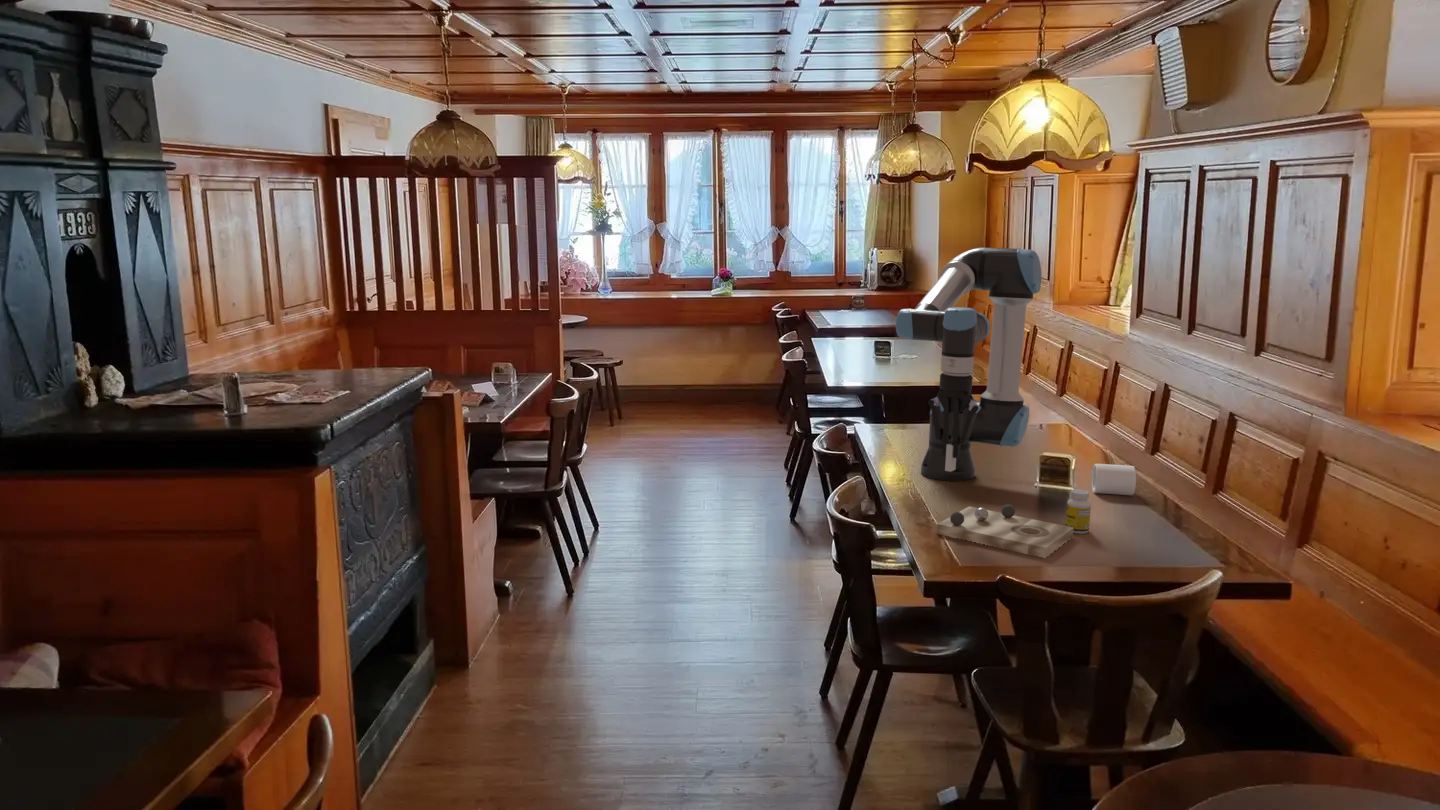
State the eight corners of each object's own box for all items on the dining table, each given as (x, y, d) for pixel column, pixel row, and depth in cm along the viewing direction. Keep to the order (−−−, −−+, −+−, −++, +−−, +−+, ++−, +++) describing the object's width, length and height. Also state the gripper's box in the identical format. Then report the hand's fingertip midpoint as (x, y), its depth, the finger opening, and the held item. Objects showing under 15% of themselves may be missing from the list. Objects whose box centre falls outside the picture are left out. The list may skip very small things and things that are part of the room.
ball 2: (998, 517, 244) (999, 505, 243) (1003, 514, 246) (1004, 501, 245) (1011, 520, 242) (1012, 507, 241) (1016, 517, 244) (1017, 504, 243)
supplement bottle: (1061, 527, 245) (1064, 488, 243) (1082, 526, 246) (1086, 488, 244) (1070, 534, 240) (1074, 494, 238) (1092, 534, 240) (1096, 494, 238)
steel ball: (971, 520, 241) (972, 508, 240) (977, 517, 243) (978, 504, 243) (984, 523, 239) (985, 510, 238) (990, 520, 241) (991, 507, 241)
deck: (936, 534, 239) (937, 523, 238) (968, 515, 253) (969, 506, 252) (1045, 558, 223) (1046, 547, 223) (1072, 537, 237) (1073, 527, 237)
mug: (1134, 499, 269) (1137, 470, 268) (1095, 496, 271) (1097, 467, 270) (1126, 486, 281) (1128, 459, 279) (1088, 484, 283) (1090, 456, 281)
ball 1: (947, 525, 237) (948, 512, 237) (953, 522, 240) (954, 509, 239) (960, 528, 235) (961, 515, 235) (966, 525, 238) (966, 511, 237)
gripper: (924, 372, 240) (918, 468, 245) (976, 378, 232) (969, 477, 237) (938, 368, 246) (932, 462, 250) (989, 374, 238) (982, 471, 243)
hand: (950, 470), depth 244 cm, fingers closed
